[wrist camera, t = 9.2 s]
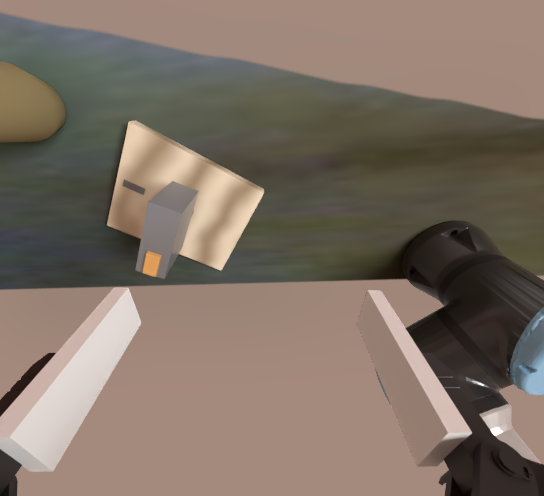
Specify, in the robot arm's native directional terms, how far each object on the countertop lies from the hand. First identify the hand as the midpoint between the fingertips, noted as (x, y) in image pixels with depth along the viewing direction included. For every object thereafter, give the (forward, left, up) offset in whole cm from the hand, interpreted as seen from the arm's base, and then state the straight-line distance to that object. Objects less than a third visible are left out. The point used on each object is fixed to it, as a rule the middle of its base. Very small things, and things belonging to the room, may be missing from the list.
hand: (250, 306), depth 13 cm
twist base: (+8, +9, -27) cm, 30 cm away
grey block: (+8, +9, -23) cm, 26 cm away
